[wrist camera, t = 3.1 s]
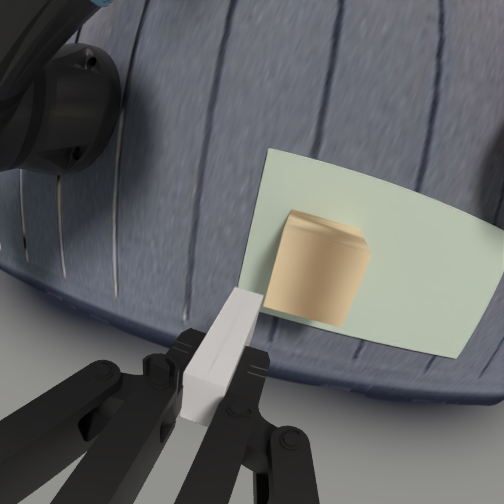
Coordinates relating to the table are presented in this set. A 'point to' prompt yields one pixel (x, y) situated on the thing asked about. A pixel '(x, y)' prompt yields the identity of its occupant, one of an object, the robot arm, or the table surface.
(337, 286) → the wooden block
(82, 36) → the table surface
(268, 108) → the table surface
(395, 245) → the felt mat
